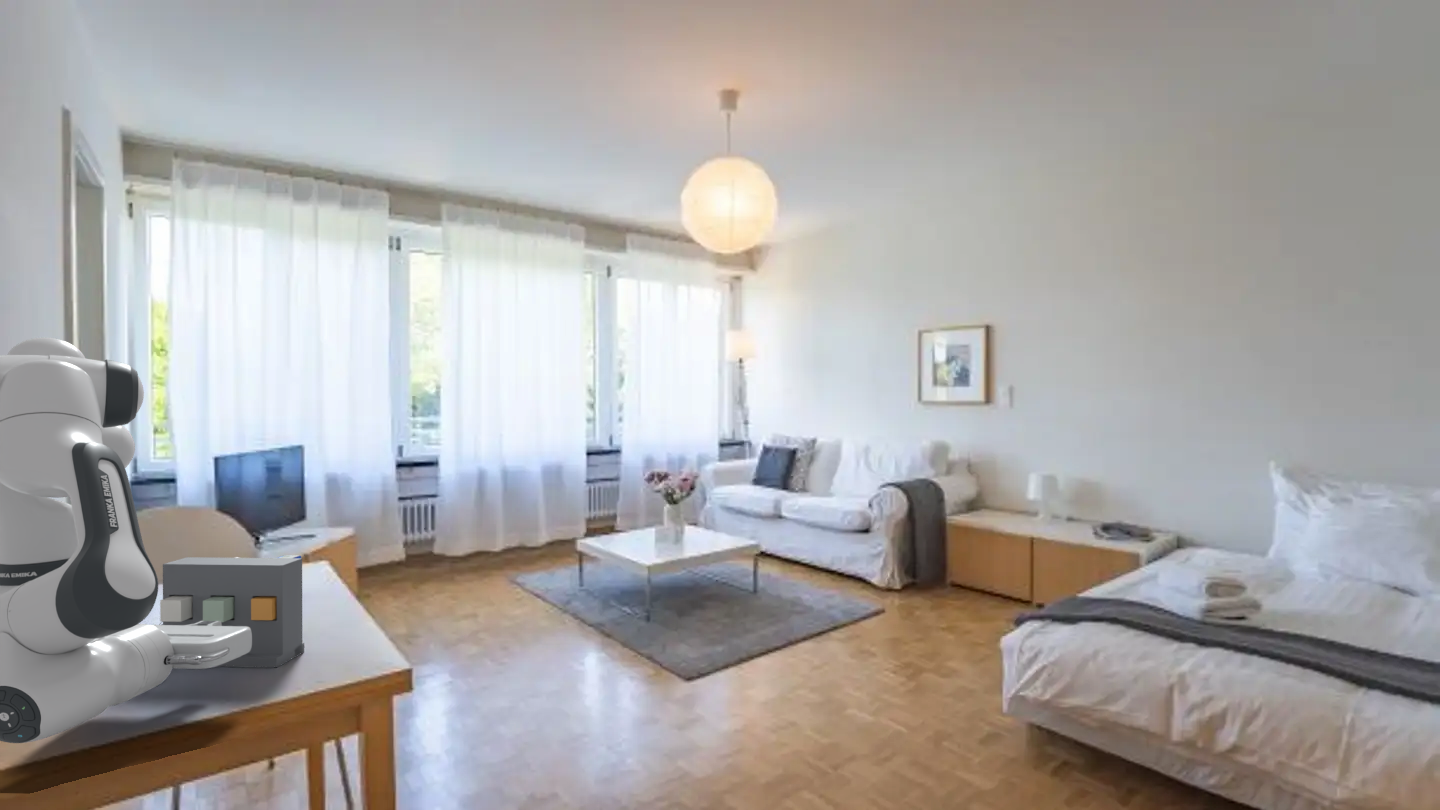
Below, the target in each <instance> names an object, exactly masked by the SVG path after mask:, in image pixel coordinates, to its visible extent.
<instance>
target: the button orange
mask: <svg viewBox="0 0 1440 810" xmlns="http://www.w3.org/2000/svg"><path fill="white" fill-rule="evenodd" d="M276 618H277V596H257V597H255V598H252V599H251V620H274V619H276Z"/></svg>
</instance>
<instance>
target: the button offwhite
mask: <svg viewBox="0 0 1440 810" xmlns="http://www.w3.org/2000/svg"><path fill="white" fill-rule="evenodd" d="M159 601H160V604H159V606H160V608H159V610H160V611H159V613H160V616H159V617H160V618H159V619H160V620H159V622H160V621H161V622H162V621H166V622H182V621H184V620H187V619H189V618H192V617H193V595H174V596H171V597H168V598H165V599H163V598H162V599H160V600H159Z"/></svg>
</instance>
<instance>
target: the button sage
mask: <svg viewBox="0 0 1440 810" xmlns="http://www.w3.org/2000/svg"><path fill="white" fill-rule="evenodd" d="M232 618H235V596H214V597H212V598H209V599H206V600H203V621H221V622H225V621H228V620H230V619H232Z"/></svg>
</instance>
